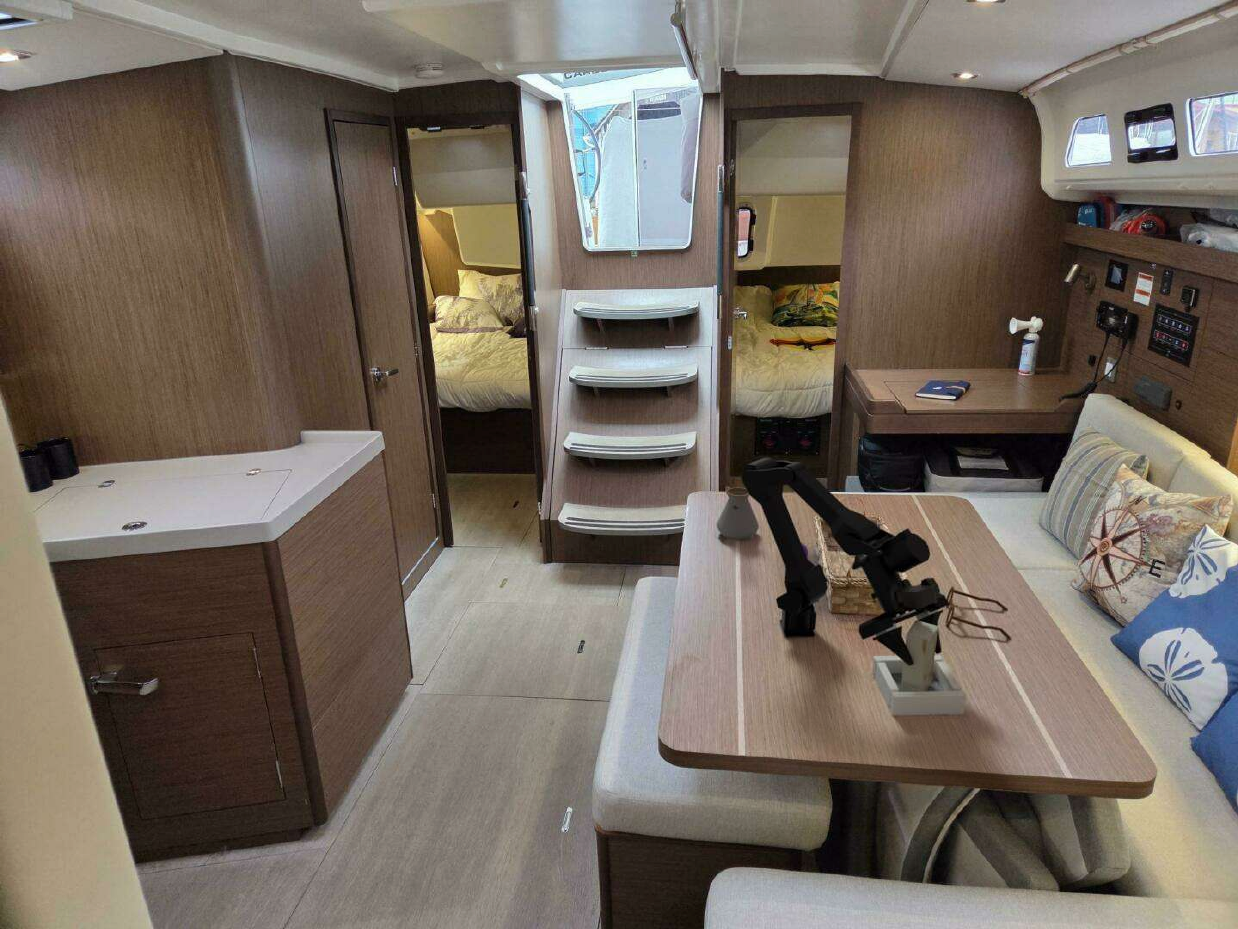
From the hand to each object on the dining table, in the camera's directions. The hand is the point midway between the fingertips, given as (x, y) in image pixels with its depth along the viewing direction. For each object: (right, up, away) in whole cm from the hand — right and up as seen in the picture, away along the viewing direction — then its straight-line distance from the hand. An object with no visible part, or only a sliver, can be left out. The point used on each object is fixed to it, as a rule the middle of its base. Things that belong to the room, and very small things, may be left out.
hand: (925, 659), depth 149 cm
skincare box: (0, -6, +4) cm, 7 cm away
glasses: (+22, +1, +28) cm, 36 cm away
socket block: (0, -7, +4) cm, 8 cm away
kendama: (-13, +8, +49) cm, 51 cm away
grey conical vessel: (-25, +15, +67) cm, 73 cm away
